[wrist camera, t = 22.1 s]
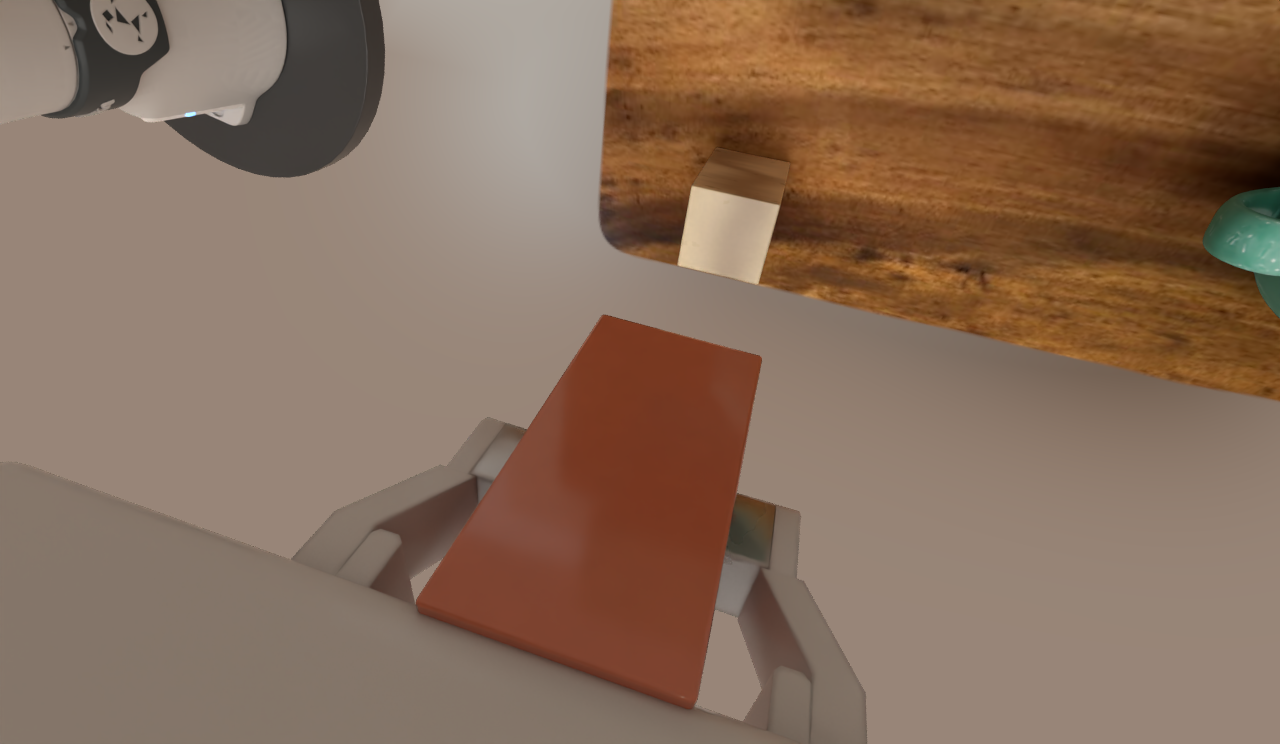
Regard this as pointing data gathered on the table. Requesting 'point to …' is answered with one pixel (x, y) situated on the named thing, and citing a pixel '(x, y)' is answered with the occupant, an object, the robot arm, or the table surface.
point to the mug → (1250, 238)
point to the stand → (733, 214)
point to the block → (612, 514)
